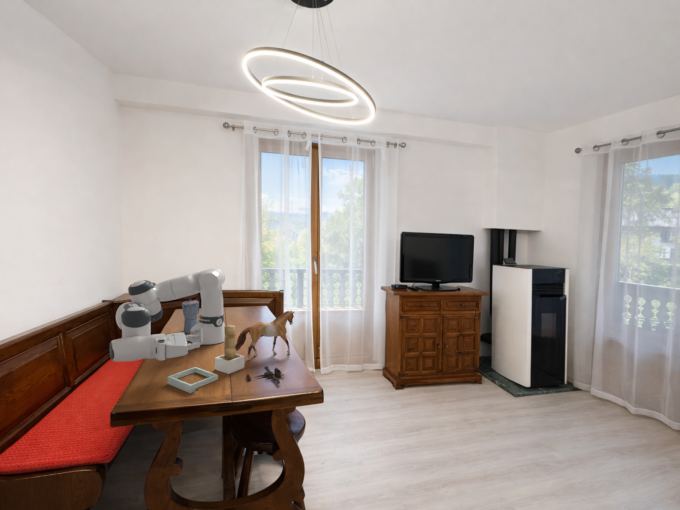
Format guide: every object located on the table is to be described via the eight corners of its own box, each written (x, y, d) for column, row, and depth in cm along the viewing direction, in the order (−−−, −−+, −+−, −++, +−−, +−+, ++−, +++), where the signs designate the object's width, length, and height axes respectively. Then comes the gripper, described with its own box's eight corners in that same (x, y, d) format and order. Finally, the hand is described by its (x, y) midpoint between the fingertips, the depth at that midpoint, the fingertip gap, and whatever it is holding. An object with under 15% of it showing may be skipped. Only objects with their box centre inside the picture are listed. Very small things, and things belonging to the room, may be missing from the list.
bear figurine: (241, 367, 140) (275, 358, 147) (242, 377, 140) (276, 368, 147) (253, 384, 124) (290, 373, 131) (254, 395, 124) (290, 384, 131)
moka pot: (176, 334, 192) (176, 299, 191) (191, 327, 208) (191, 295, 207) (191, 335, 191) (191, 300, 190) (206, 328, 206) (206, 295, 205)
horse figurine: (292, 349, 172) (293, 309, 171) (298, 354, 165) (299, 312, 164) (230, 360, 155) (231, 315, 154) (235, 365, 148) (236, 319, 147)
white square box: (214, 371, 141) (215, 357, 141) (230, 365, 148) (231, 352, 148) (228, 376, 137) (228, 361, 136) (244, 369, 144) (244, 356, 144)
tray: (167, 383, 128) (167, 376, 128) (195, 373, 139) (195, 366, 138) (190, 393, 121) (190, 385, 121) (217, 381, 131) (218, 374, 131)
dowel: (222, 368, 142) (222, 326, 141) (230, 365, 145) (230, 324, 145) (229, 371, 139) (229, 328, 139) (237, 367, 143) (237, 326, 142)
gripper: (159, 345, 138) (196, 341, 145) (159, 362, 120) (201, 356, 127) (159, 330, 138) (196, 327, 145) (159, 345, 120) (201, 340, 127)
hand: (198, 341), depth 136 cm, fingers open, 8 cm apart
